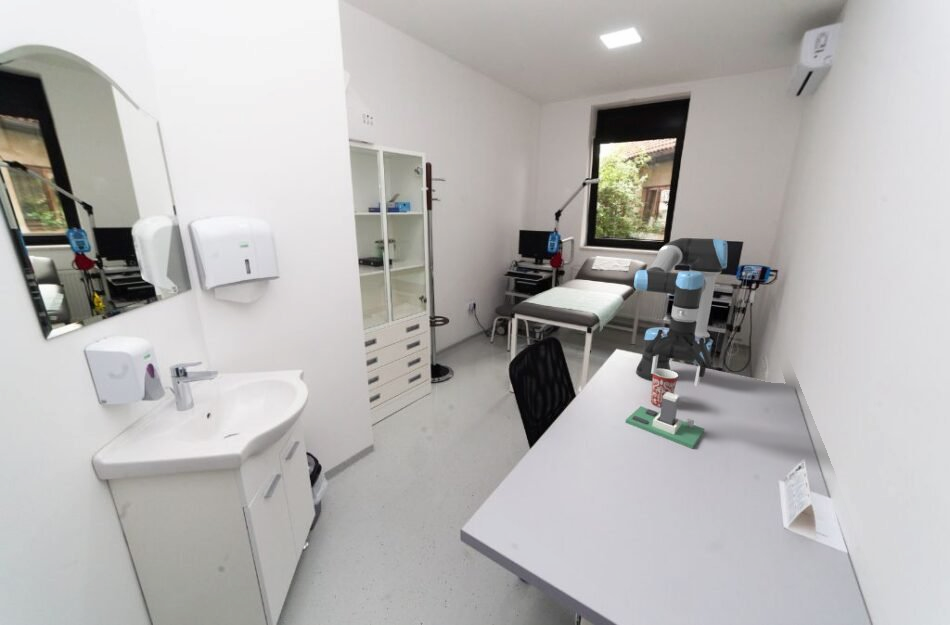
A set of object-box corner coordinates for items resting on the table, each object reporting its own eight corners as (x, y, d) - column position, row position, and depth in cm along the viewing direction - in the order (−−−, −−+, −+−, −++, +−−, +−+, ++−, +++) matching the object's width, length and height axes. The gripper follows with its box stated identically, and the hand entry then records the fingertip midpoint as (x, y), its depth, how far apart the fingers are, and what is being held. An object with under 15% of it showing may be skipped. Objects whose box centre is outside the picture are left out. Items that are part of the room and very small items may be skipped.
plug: (662, 421, 132) (667, 391, 129) (674, 426, 129) (679, 395, 126) (658, 426, 129) (663, 395, 126) (670, 430, 127) (675, 399, 124)
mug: (670, 411, 142) (676, 379, 138) (645, 404, 147) (650, 373, 143) (676, 399, 151) (681, 369, 148) (653, 393, 157) (657, 364, 153)
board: (640, 408, 143) (641, 400, 142) (703, 431, 129) (705, 422, 128) (625, 422, 134) (626, 413, 133) (692, 448, 119) (694, 438, 118)
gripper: (640, 314, 125) (633, 370, 131) (726, 329, 108) (713, 394, 114) (648, 310, 130) (641, 365, 136) (731, 324, 114) (719, 386, 119)
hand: (674, 378), depth 125 cm, fingers open, 13 cm apart
